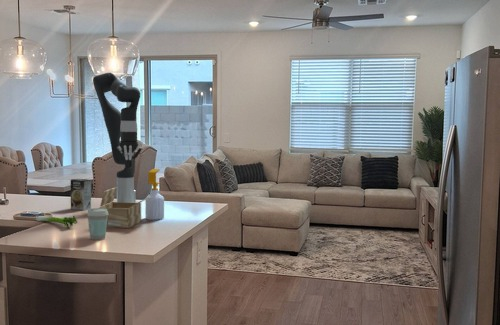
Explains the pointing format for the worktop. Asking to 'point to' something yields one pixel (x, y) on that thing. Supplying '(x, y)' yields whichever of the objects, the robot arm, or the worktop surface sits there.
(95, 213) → the coffee cup
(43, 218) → the celery stalk
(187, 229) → the worktop surface
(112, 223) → the wooden box
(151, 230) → the worktop surface
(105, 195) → the flap
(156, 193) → the soap bottle
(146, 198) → the flap
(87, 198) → the coffee box
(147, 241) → the worktop surface
